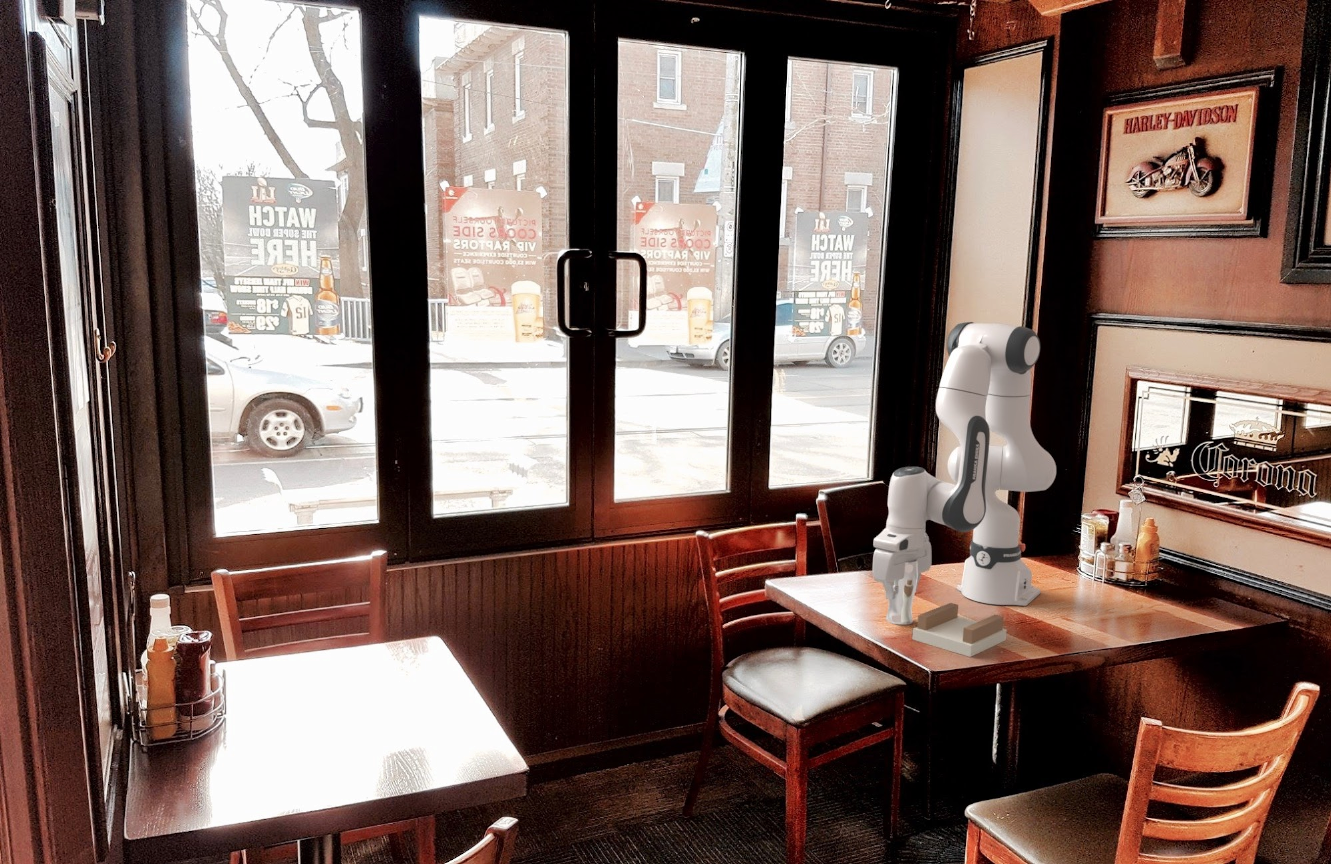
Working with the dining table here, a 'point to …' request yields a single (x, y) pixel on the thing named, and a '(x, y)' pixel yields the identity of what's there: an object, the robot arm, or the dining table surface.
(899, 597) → the beer glass
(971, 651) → the stand
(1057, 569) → the dining table surface
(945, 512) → the robot arm
